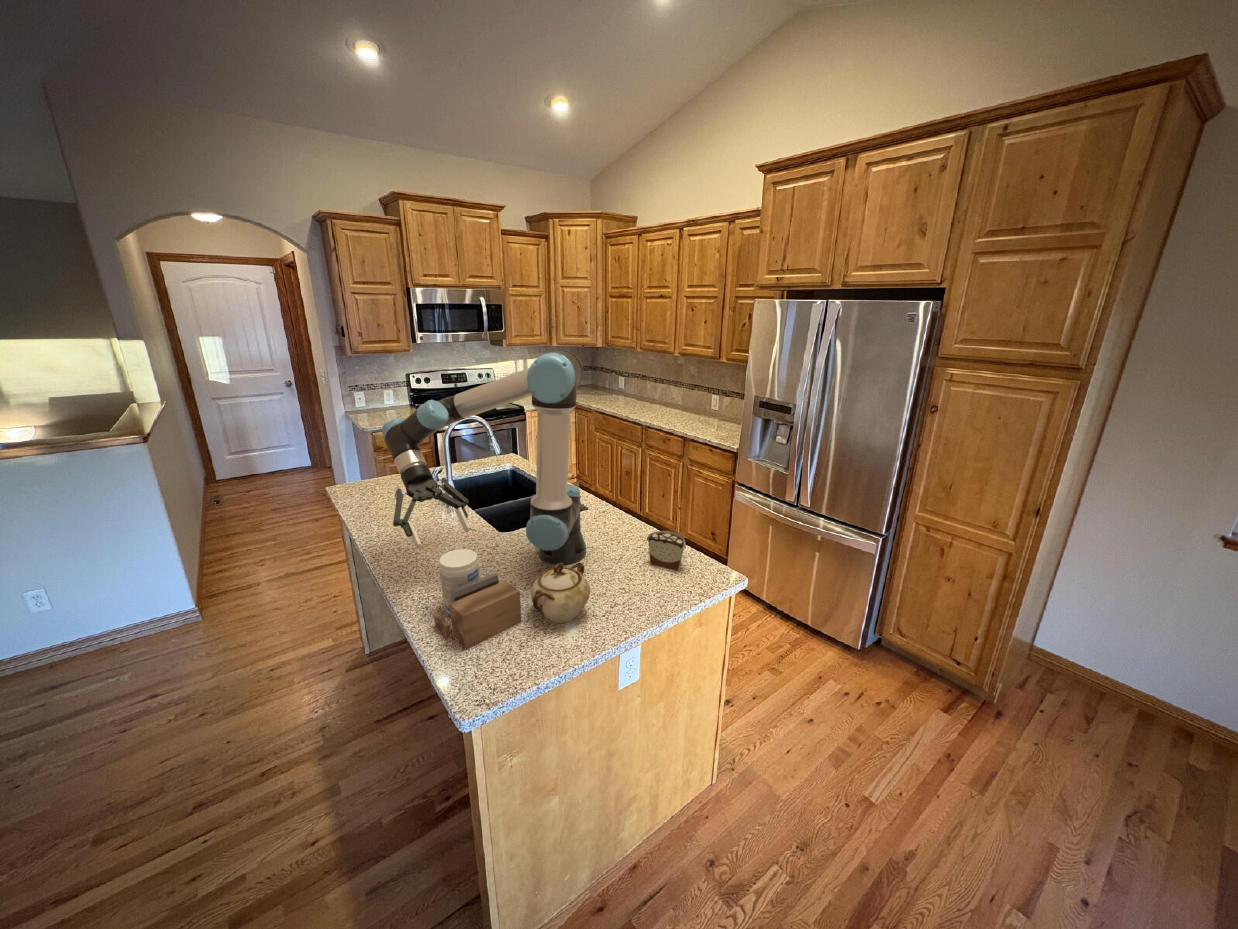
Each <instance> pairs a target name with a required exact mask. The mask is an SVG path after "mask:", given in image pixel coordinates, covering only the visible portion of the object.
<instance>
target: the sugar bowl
mask: <svg viewBox="0 0 1238 929" xmlns="http://www.w3.org/2000/svg"><path fill="white" fill-rule="evenodd" d="M584 573H585V565H584V563H582V562H577V563H575V564H573V565H571V566H570V567H565V565H564V564H563V563H558V564H555V566H554V568H551V569H548V570H545V571H544V572H542V573H541V574H540V575H539V576H538V577H537V578H536V579H535V581H534V582H533V584H532V586H531V590H530V599H531V601H532V605H533V608H534V609H535V610H537V611H538V612H539V613H540V614H541V615H543V616H544V617H546V618H547V620H548V621H550V622H553V623H556V624H563V623H567V622H571V621H572V620H573V619H575V618H576V617H577V616H578V614H579V613H580V612H581V611H582V610H583V609H584V608H585V605H586V604H587V603H588V600H589V598H590V595H591V588H590V587H591V586H590V584H589V582H588V580H587V578H586V577H585V576H584Z"/></svg>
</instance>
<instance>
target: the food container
mask: <svg viewBox="0 0 1238 929" xmlns="http://www.w3.org/2000/svg"><path fill="white" fill-rule="evenodd" d="M647 541H648V555H649V566H651V567H652V566H653V567H656V568H659V569H660V568H661V569H665V570H668V571H672V572H677V573H679V572H680V571H681V569H680V568H681V563H682V558H683V552H684V550H686V548H687V546H686V540H685V538H684V537H683V536H682V534H679V533H677V532H675V531H669V530H657V531H653V532H650V533H649V534H648V536H647V537H646V542H647Z"/></svg>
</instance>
